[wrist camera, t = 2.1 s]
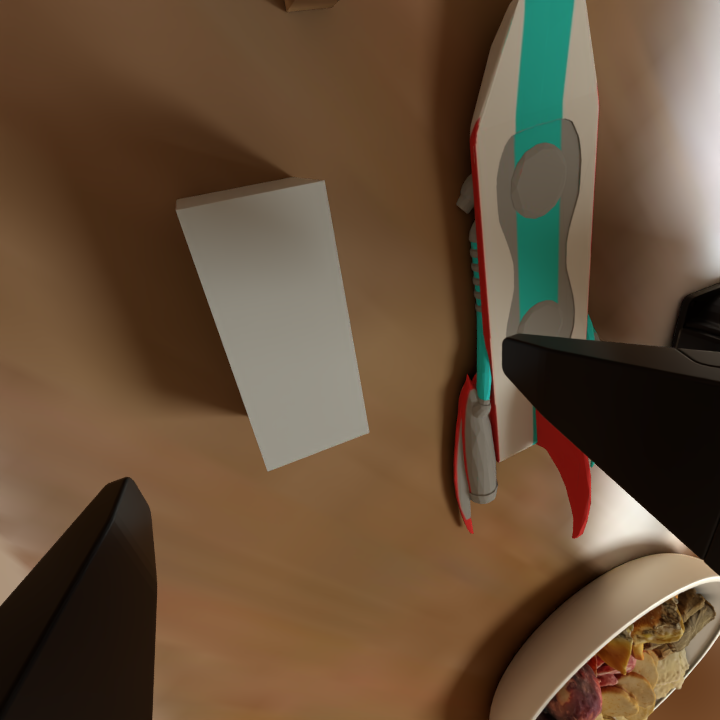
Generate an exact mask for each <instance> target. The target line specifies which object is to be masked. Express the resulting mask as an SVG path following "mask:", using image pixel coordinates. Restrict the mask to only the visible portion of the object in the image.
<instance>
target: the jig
mask: <svg viewBox="0 0 720 720" xmlns="http://www.w3.org/2000/svg"><path fill="white" fill-rule="evenodd" d="M284 1H285V6H286V12H293V11H303V10H313V9H322V8H332V7H333V6H334V5H335V4H336V3H337V2H338V1H339V0H284Z"/></svg>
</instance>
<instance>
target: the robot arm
mask: <svg viewBox="0 0 720 720" xmlns="http://www.w3.org/2000/svg"><path fill="white" fill-rule="evenodd" d="M502 370H503V372H504V374H505V375H506V377H507V378H508V379H509V380H510V381H511V382H512V383H513V384H514V385H515V387H516V388H517V389H518V390H519V391H520V392H521V393H522V394H523V395H524V396H525V398H526V399H527V400H528V401H529V402H530V403H531V404H532V405H533V406H534V408H535V409H536V410H537V411H538V412H539V413H540V414H541V415H542V416H543V417H544V418H545V419H546V420H547V421H548V422H549V423H551V424H552V425H553V426H554V427H555V428H556V429H557V430H558V431H559V432H561V433H562V434H563V435H564V436H565V437H566V438H567V439H568V440H569V441H571V442H572V443H573V444H574V445H575V446H576V447H577V448H578V449H579V450H580V451H582V452H583V453H584V454H585V455H586V456H587V457H588V458H589V459H590V460H592V461H593V462H594V463H595V464H596V465H597V466H598V467H599V468H600V469H602V470H603V471H604V472H605V473H606V474H607V475H608V476H609V477H610V478H612V479H613V480H614V481H615V482H616V483H617V484H618V485H619V486H620V487H622V488H623V489H624V490H625V491H626V492H627V493H628V494H629V495H630V496H631V497H633V498H634V499H635V500H636V501H637V502H638V503H639V504H640V505H641V506H643V507H644V508H645V509H646V510H647V511H648V512H649V513H650V514H651V515H653V516H654V517H655V518H656V519H657V520H658V521H659V522H660V523H661V524H663V525H664V526H665V527H666V528H667V529H668V530H669V531H670V532H671V533H672V534H674V535H675V536H676V537H677V538H678V539H679V540H680V541H681V542H682V543H684V544H685V545H686V546H687V547H688V548H689V549H690V550H691V551H692V552H694V553H695V554H696V555H697V556H698V557H699V558H700V559H702V560H704V563H705V564H706V565H708V566H709V567H710V568H711V569H712V570H713V571H714V572H715V573H716V574H718V575H719V576H720V283H718V284H716V285H713V286H711V287H708V288H705V289H703V290H700V291H698V292H695V293H693V294H690V295H688V296H686V298H685V299H684V300H683V302H682V305H681V309H680V313H679V317H678V322H677V326H676V330H675V334H674V339H673V343H672V347H671V348H668V347H658V346H647V345H637V344H627V343H616V342H606V341H595V340H585V339H574V338H564V337H553V336H543V335H532V334H522V333H518V334H514V335H511V336H509V337H506V338H505V339H504V340H503V342H502ZM156 608H157V575H156V563H155V552H154V541H153V530H152V519H151V512H150V508H149V506H148V504H147V502H146V500H145V499H144V497H143V495H142V494H141V492H140V490H139V489H138V487H137V485H136V484H135V482H134V481H133V480H132V479H131V478H130V477H124V478H122V479H119V480H116V481H113V482H111V483H108V484H107V485H106V486H105V487H104V488H103V489H102V490H101V491H100V492H99V493H98V495H97V496H96V497H95V498H94V499H93V500H92V502H91V503H90V504H89V505H88V506H87V507H86V508H85V510H84V511H83V512H82V513H81V514H80V515H79V516H78V518H77V519H76V520H75V521H74V522H73V523H72V525H71V526H70V527H69V528H68V529H67V530H66V531H65V533H64V534H63V535H62V536H61V537H60V538H59V539H58V541H57V542H56V543H55V544H54V545H53V546H52V547H51V549H50V550H49V551H48V552H47V553H46V554H45V556H44V557H43V558H42V559H41V560H40V561H39V562H38V564H37V565H36V566H35V567H34V568H33V569H32V570H31V572H30V573H29V574H28V575H27V576H26V577H25V578H24V580H23V581H22V582H21V583H20V584H19V585H18V587H17V588H16V589H15V590H14V591H13V592H12V593H11V595H10V596H9V597H8V598H7V599H6V600H5V601H4V603H3V604H2V605H1V606H0V720H152V712H153V686H154V660H155V634H156Z"/></svg>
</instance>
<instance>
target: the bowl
mask: <svg viewBox="0 0 720 720" xmlns="http://www.w3.org/2000/svg"><path fill="white" fill-rule="evenodd" d="M719 635H720V576H719V575H718V574H716V573H715V572H714V571H713V570H712V569H711V568H710V567H709V566H708V565H706V564H705V563H704V561H703V560H701V559H698V558H695V557H692V556H688V555H683V554H674V553H662V554H654V555H649V556H645V557H641V558H638V559H635V560H632V561H629V562H627V563H625V564H622V565H620V566H618V567H616V568H614V569H612V570H610V571H608V572H607V573H605V574H603V575H601V576H600V577H598V578H597V579H595V580H594V581H592V582H591V583H589V584H588V585H586V586H585V587H583V588H582V589H581V590H579V591H578V592H577V593H575V594H574V595H573V596H572V597H570V598H569V599H568V600H567V601H566V602H564V603H563V604H562V605H561V606H560V607H559V608H558V609H556V610H555V611H554V612H553V613H552V614H551V615H550V616H549V617H548V618H547V619H546V620H545V621H544V622H543V623H542V624H541V625H540V626H539V627H538V628H537V629H536V630H535V631H534V633H533V634H532V635H531V636H530V637H529V638H528V640H527V641H526V642H525V643H524V644H523V646H522V647H521V648H520V650H519V651H518V652H517V654H516V655H515V656H514V658H513V659H512V661H511V662H510V664H509V666H508V667H507V669H506V671H505V673H504V674H503V676H502V678H501V680H500V682H499V684H498V687H497V689H496V692H495V695H494V698H493V701H492V705H491V710H490V716H489V720H647V717H648V716H649V715H650V714H651V713H652V712H653V710H655V709H656V708H657V707H658V706H659V705H660V704H661V703H662V702H663V701H664V700H665V699H666V698H667V697H668V696H669V695H670V694H671V693H672V692H673V691H674V690H675V689H680V688H681V686H682V684H683V682H684V679H685V678H686V677H687V676H688V675H689V674H690V672H691V671H692V670H693V669H694V668H695V667H696V665H697V664H698V663H699V662H700V660H701V659H702V658H703V657H704V656H705V654H706V653H707V652H708V650H709V649H710V648H711V646H712V645H713V643H714V642H715V641H716V639H717V638H718V636H719Z"/></svg>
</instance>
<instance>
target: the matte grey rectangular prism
mask: <svg viewBox="0 0 720 720" xmlns="http://www.w3.org/2000/svg"><path fill="white" fill-rule="evenodd" d="M176 213H177V216H178V219H179V221H180V224H181V227H182V230H183V233H184V236H185V238H186V241H187V244H188V247H189V250H190V253H191V255H192V258H193V261H194V264H195V267H196V269H197V272H198V275H199V278H200V281H201V284H202V286H203V289H204V292H205V295H206V298H207V301H208V303H209V306H210V309H211V312H212V315H213V318H214V320H215V323H216V326H217V329H218V332H219V335H220V337H221V340H222V343H223V346H224V349H225V352H226V354H227V357H228V360H229V363H230V366H231V369H232V371H233V374H234V377H235V380H236V383H237V386H238V388H239V391H240V394H241V397H242V400H243V403H244V405H245V408H246V411H247V414H248V417H249V420H250V422H251V425H252V428H253V431H254V434H255V437H256V439H257V442H258V445H259V448H260V451H261V454H262V456H263V459H264V462H265V465H266V468H267V471H271V470H273V469H276V468H279V467H281V466H284V465H286V464H289V463H291V462H294V461H297V460H299V459H302V458H304V457H307V456H310V455H312V454H315V453H317V452H320V451H323V450H325V449H328V448H330V447H333V446H336V445H338V444H341V443H343V442H346V441H349V440H351V439H354V438H356V437H359V436H362V435H364V434H367V433H369V427H368V422H367V416H366V411H365V405H364V399H363V394H362V388H361V383H360V377H359V371H358V366H357V360H356V354H355V349H354V343H353V338H352V332H351V326H350V321H349V315H348V310H347V304H346V298H345V293H344V287H343V281H342V276H341V270H340V265H339V259H338V253H337V248H336V242H335V237H334V231H333V225H332V220H331V214H330V208H329V203H328V197H327V192H326V186H325V180H316V179H306V178H297V177H290V178H285V179H280V180H275V181H270V182H265V183H259V184H254V185H249V186H244V187H239V188H234V189H229V190H223V191H218V192H213V193H208V194H203V195H198V196H193V197H187V198H182V199H177V200H176Z"/></svg>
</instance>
